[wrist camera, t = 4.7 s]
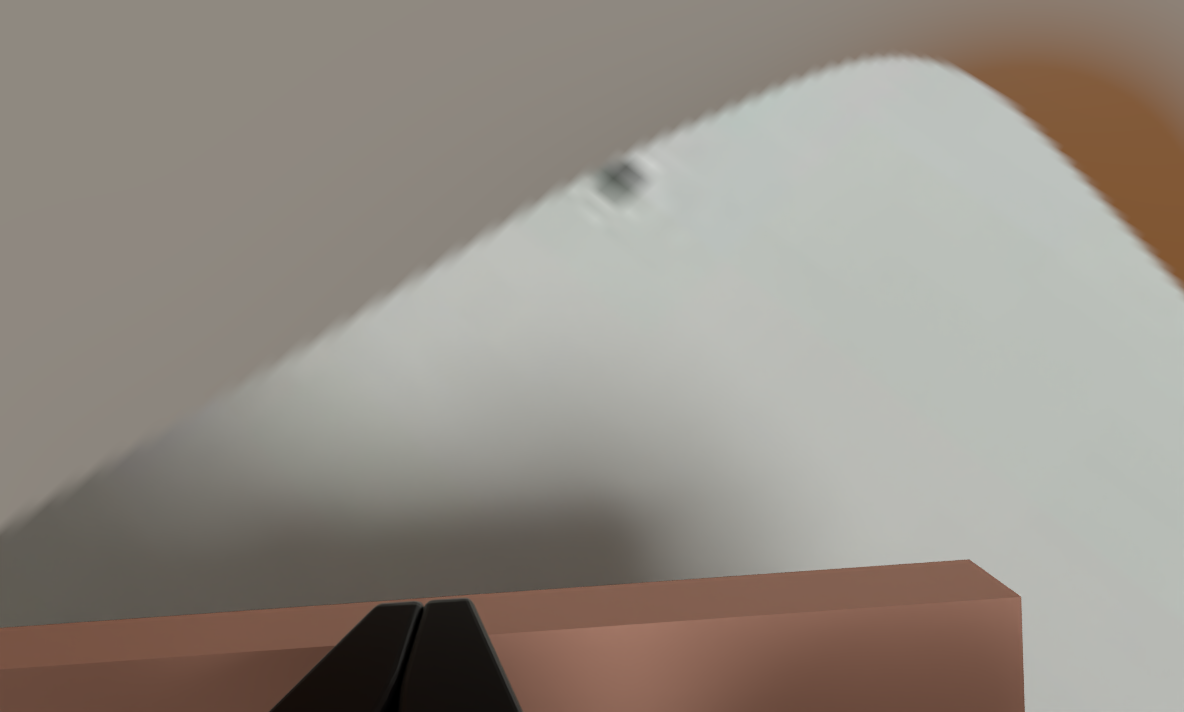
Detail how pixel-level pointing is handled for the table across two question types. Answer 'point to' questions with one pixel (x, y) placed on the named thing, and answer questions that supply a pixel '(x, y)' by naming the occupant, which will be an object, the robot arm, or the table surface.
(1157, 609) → the table surface
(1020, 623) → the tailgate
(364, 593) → the table surface
